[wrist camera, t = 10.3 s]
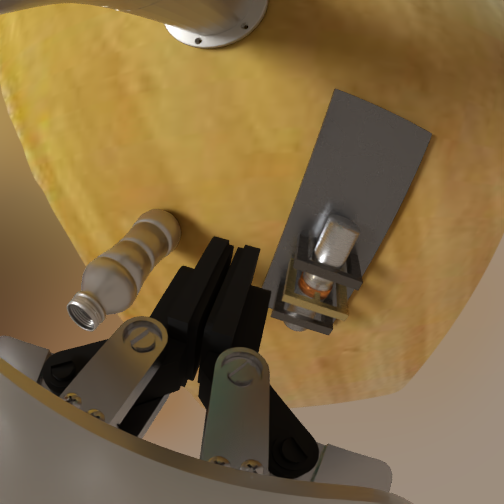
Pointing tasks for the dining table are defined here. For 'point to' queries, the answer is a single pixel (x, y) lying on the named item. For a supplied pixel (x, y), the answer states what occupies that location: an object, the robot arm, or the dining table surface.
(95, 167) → the dining table surface
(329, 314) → the aperture bridge
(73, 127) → the dining table surface
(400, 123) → the plate
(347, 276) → the collar
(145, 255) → the plastic bottle
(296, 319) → the collar
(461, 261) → the dining table surface
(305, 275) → the tube
